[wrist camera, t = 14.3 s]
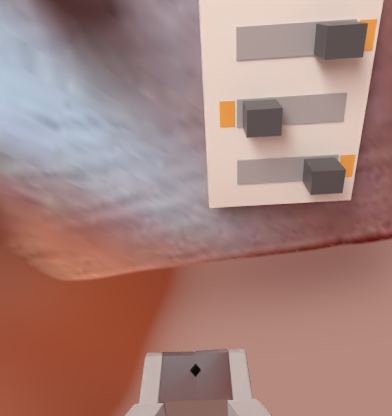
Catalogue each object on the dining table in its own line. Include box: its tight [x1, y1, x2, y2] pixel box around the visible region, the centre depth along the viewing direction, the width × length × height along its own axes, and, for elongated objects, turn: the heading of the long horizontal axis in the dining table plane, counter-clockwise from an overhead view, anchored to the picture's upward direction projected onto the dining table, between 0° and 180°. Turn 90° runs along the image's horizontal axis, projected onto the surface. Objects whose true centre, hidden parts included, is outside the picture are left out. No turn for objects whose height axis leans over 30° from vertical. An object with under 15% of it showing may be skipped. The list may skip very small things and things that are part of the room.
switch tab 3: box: [302, 157, 346, 195], centre depth 36 cm, size 3×2×3 cm
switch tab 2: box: [314, 21, 368, 60], centre depth 30 cm, size 3×2×3 cm
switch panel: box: [198, 0, 383, 208], centre depth 36 cm, size 15×20×4 cm
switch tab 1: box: [243, 99, 283, 138], centre depth 33 cm, size 3×2×3 cm
